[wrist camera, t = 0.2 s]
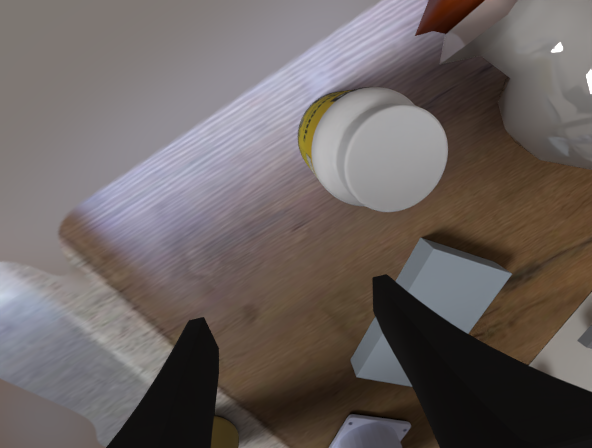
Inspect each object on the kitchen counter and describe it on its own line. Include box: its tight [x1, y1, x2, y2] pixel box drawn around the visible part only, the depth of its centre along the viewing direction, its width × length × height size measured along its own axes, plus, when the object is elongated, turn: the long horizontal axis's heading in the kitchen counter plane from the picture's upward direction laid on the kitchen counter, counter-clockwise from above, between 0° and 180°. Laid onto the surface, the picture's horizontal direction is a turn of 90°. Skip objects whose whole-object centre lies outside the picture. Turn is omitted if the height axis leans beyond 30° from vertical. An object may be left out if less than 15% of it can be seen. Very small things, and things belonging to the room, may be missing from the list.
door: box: [351, 238, 512, 387], centre depth 26 cm, size 14×8×3 cm, turn 159°
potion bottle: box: [415, 0, 592, 170], centre depth 15 cm, size 9×10×15 cm
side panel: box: [529, 292, 592, 392], centre depth 28 cm, size 16×4×6 cm, turn 160°
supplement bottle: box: [298, 87, 448, 212], centre depth 15 cm, size 5×5×10 cm
